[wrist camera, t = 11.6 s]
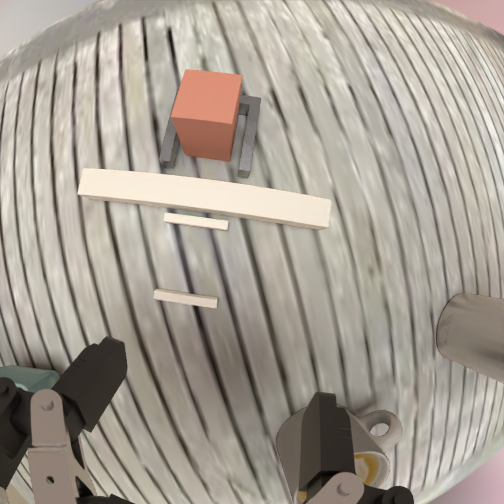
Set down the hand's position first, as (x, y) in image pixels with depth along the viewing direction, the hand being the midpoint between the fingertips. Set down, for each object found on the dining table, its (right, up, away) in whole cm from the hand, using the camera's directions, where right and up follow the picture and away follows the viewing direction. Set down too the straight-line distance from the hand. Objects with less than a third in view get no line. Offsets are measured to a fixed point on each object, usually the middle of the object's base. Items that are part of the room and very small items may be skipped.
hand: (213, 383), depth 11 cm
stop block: (-3, +17, +17) cm, 24 cm away
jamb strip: (-4, +6, +17) cm, 19 cm away
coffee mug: (+11, -16, +19) cm, 27 cm away
